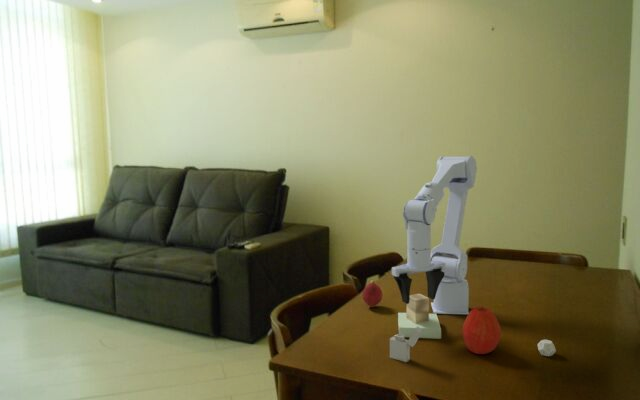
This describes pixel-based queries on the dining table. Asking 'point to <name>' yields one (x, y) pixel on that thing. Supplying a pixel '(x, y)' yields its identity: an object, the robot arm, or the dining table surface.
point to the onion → (372, 294)
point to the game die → (546, 347)
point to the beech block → (418, 308)
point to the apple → (481, 330)
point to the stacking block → (420, 326)
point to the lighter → (403, 345)
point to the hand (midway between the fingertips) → (418, 300)
